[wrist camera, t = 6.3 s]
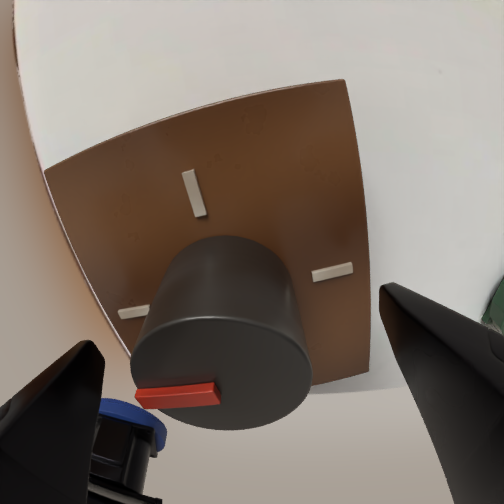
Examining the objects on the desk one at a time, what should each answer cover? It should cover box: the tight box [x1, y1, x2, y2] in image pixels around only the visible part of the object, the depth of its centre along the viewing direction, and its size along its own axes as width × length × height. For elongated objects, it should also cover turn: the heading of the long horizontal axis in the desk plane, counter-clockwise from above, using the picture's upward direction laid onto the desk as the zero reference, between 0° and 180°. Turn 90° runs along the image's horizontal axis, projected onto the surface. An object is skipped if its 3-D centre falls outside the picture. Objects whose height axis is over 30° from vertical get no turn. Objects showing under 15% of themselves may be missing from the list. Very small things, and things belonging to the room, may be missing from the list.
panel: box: [44, 79, 371, 386], centre depth 12 cm, size 12×10×5 cm
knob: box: [130, 235, 313, 430], centre depth 8 cm, size 4×4×4 cm
